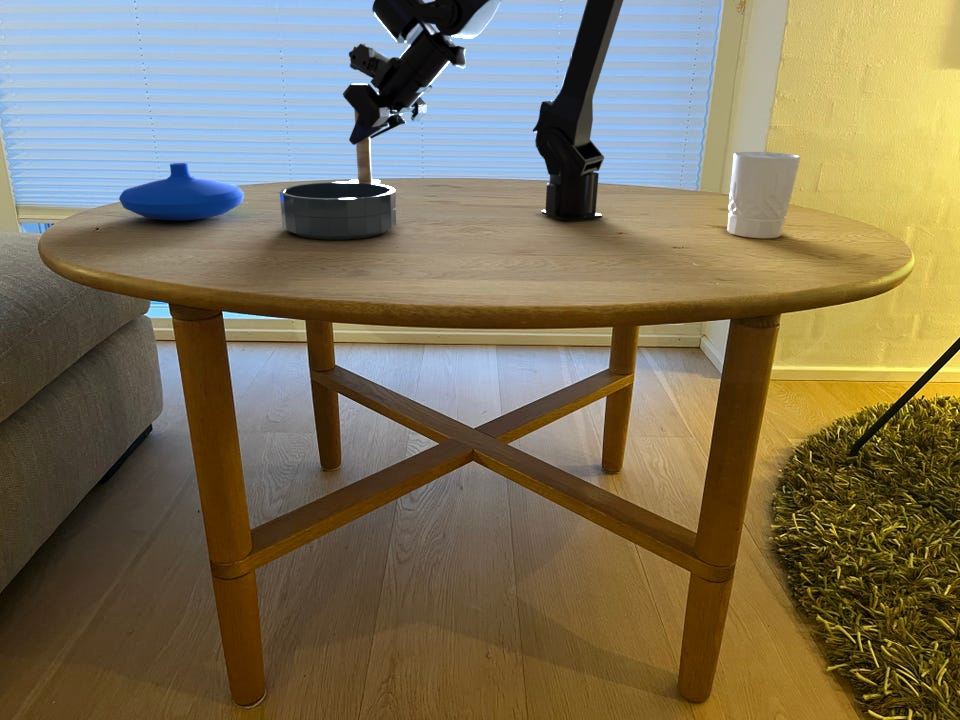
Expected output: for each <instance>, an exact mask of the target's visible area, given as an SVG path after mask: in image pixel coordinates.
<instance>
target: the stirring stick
mask: <svg viewBox="0 0 960 720" xmlns="http://www.w3.org/2000/svg"><path fill="white" fill-rule="evenodd" d="M353 111H354V124H355V123H356V121H357V118H358V115H359V114H358V113H357V111H356V110H355V109H354V108H353ZM355 149H356V167H357V168H356V169H357V178H355V179H351V180H349V181H348V182H358V183H372V184H380V185H382V183H381V180H380V179H375V178H374V179H373V177H372V155H371V140H370V137H369V138H367V139H365V140H363V141H361V142H359V143H357V144H355Z"/></svg>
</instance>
